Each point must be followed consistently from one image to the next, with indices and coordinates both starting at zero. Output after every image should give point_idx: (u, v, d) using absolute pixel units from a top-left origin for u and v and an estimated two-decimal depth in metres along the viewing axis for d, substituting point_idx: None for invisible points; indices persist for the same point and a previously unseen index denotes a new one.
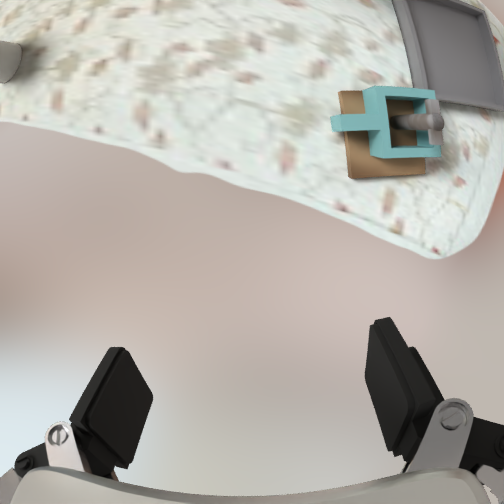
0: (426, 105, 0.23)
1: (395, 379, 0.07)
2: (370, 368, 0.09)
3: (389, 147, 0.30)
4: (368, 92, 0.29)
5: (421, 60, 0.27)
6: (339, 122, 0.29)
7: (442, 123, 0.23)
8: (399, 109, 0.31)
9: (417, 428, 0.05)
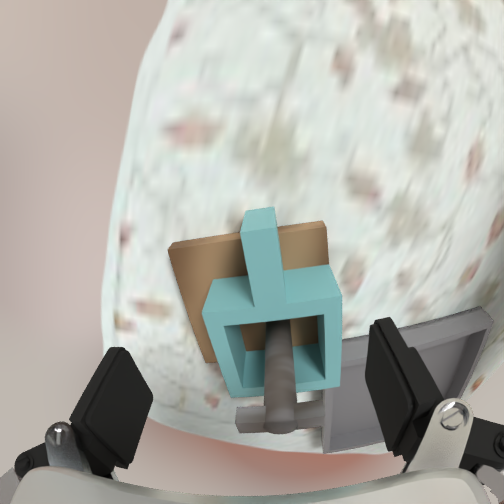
0: (310, 402, 0.15)
1: (395, 379, 0.07)
2: (370, 368, 0.09)
3: (224, 322, 0.18)
4: (326, 278, 0.19)
5: None
6: (259, 227, 0.16)
7: (280, 432, 0.14)
8: (301, 324, 0.24)
9: (417, 428, 0.05)
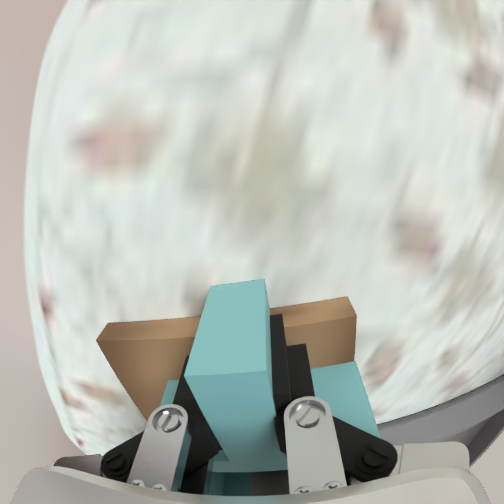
0: None
1: None
2: None
3: None
4: (353, 395, 0.10)
5: None
6: (227, 364, 0.07)
7: None
8: None
9: (276, 419, 0.07)
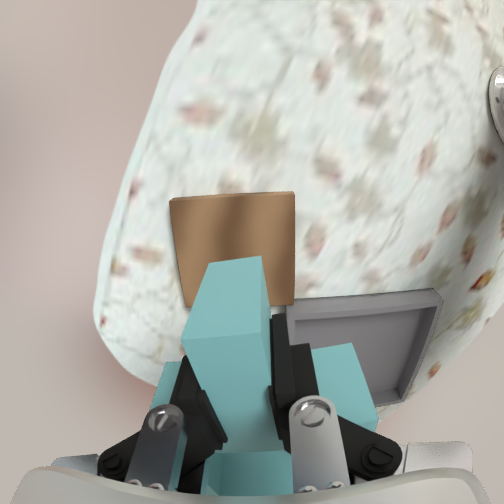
0: None
1: None
2: None
3: None
4: (350, 375, 0.10)
5: (340, 315, 0.29)
6: (223, 328, 0.07)
7: None
8: (269, 276, 0.29)
9: (281, 418, 0.07)
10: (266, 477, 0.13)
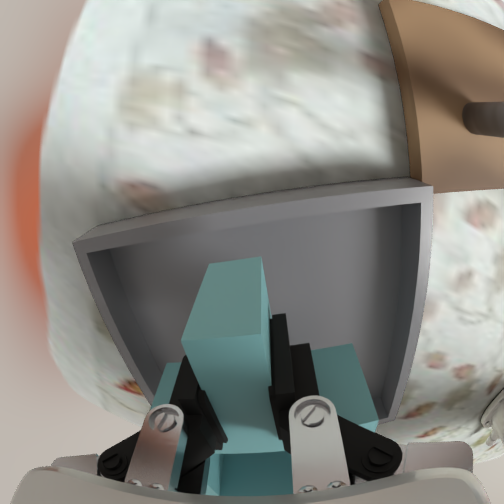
0: None
1: None
2: None
3: None
4: (350, 376, 0.10)
5: (418, 287, 0.14)
6: (224, 329, 0.07)
7: None
8: (466, 148, 0.12)
9: (281, 418, 0.07)
10: (266, 477, 0.13)
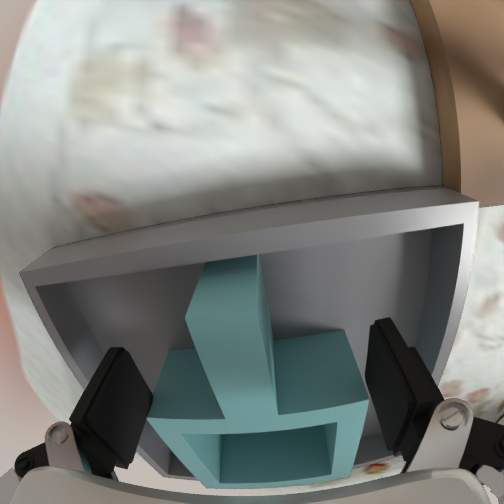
0: None
1: (395, 379, 0.07)
2: (370, 368, 0.09)
3: (181, 430, 0.10)
4: (342, 359, 0.11)
5: (449, 327, 0.10)
6: (223, 307, 0.08)
7: None
8: None
9: (417, 428, 0.05)
10: (265, 464, 0.14)
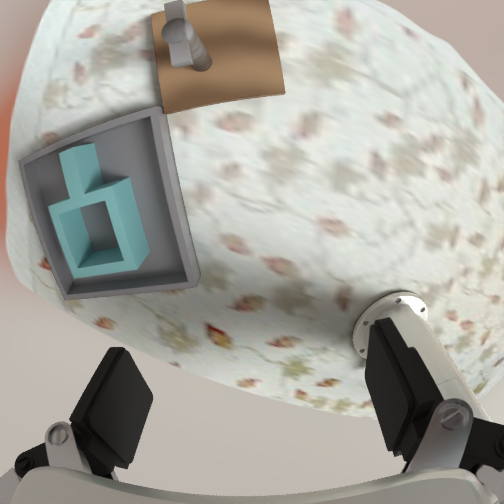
0: (190, 55, 0.15)
1: (395, 379, 0.07)
2: (370, 368, 0.09)
3: (58, 211, 0.25)
4: (117, 181, 0.27)
5: (160, 164, 0.26)
6: (68, 149, 0.23)
7: (165, 31, 0.13)
8: (195, 81, 0.24)
9: (417, 428, 0.05)
10: (100, 259, 0.29)
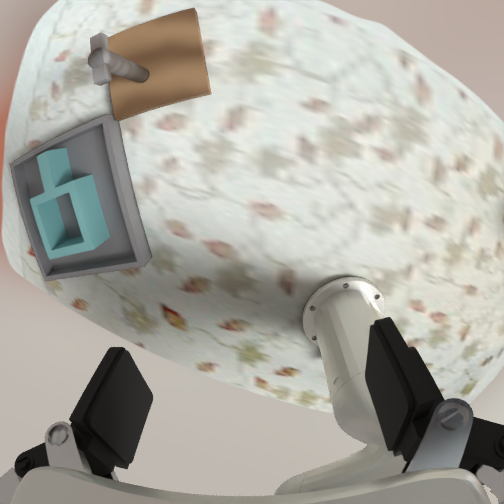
0: (110, 74, 0.19)
1: (395, 379, 0.07)
2: (370, 368, 0.09)
3: (36, 203, 0.29)
4: None
5: (111, 161, 0.29)
6: (43, 153, 0.27)
7: (90, 59, 0.17)
8: (137, 91, 0.28)
9: (417, 428, 0.05)
10: (69, 243, 0.33)
